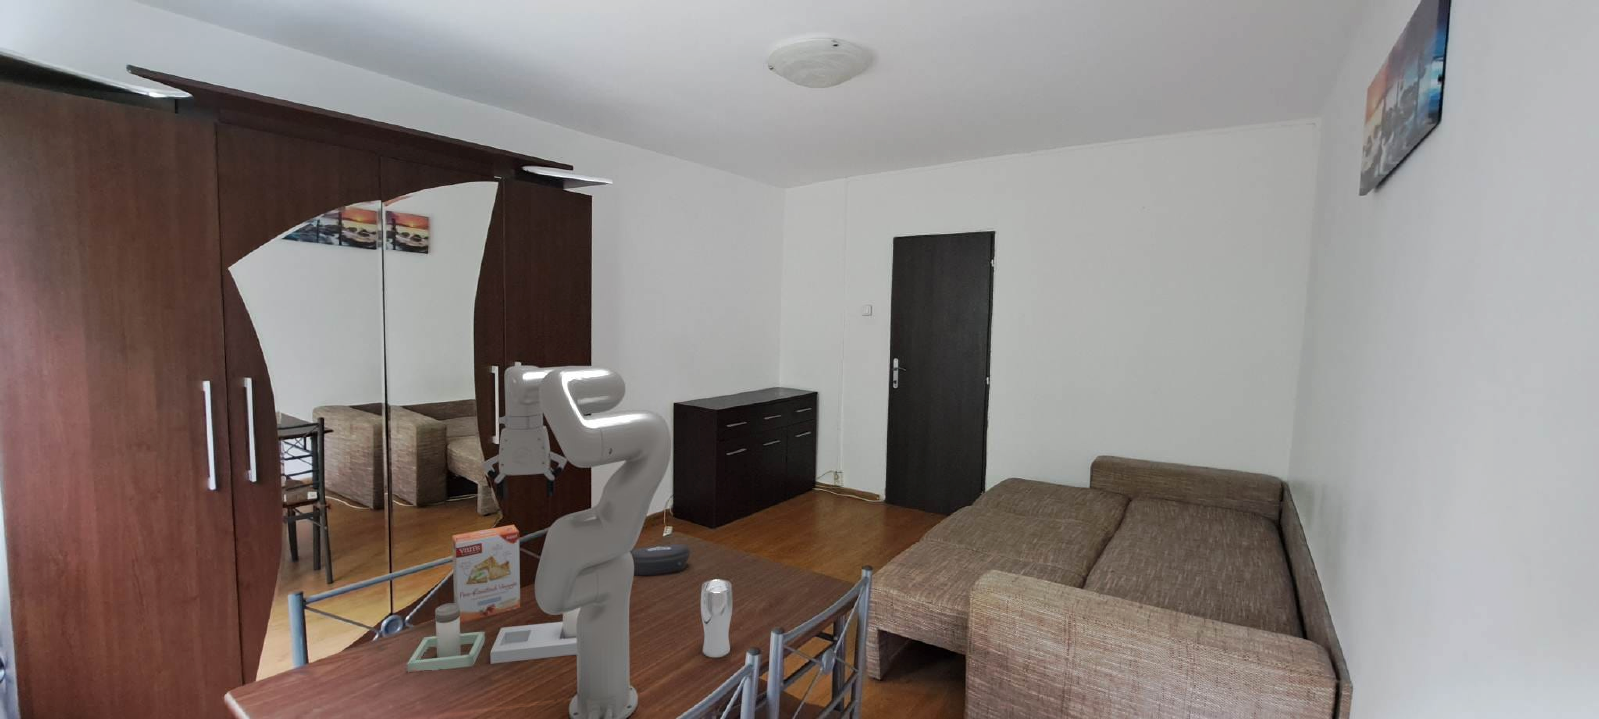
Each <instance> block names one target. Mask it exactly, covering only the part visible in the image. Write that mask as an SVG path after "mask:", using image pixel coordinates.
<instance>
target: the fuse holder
mask: <svg viewBox="0 0 1599 719" xmlns="http://www.w3.org/2000/svg"><path fill="white" fill-rule="evenodd" d="M489 654H490V664H491V665H493V664H500V663H511V662H518V661H527V660H528V661H529V660H536V659H537V660H538V659H546V658H557V657H564V656H565V657H566V656H572V655H573V656H574V655H577V638H568V639H563V621H558V622H546V623H537V624H528V625H527V624H526V625H517V626H507V627H500V630H499V632H498V634H497V636H496V639H495V640H494V643H493V645H492V648H491V650H490V652H489Z"/></svg>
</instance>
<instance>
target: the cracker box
mask: <svg viewBox="0 0 1599 719" xmlns="http://www.w3.org/2000/svg"><path fill="white" fill-rule="evenodd" d="M451 541H452V567H453V568H452V569H453V571H452V573H453V574H452V575H453V603H456V604H459V606H460V624H462V623H463V624H464V623H467V622H472V621H475V620H479V619H482V618H487V617H491V616H494V615H498V614H503V613H506V612H508V611H514V610H516V609H517V610H518V609H520V608H521V583H520V582H521V581H520V580H521V579H520V577H521V576H520V575H521V574H520V572H521V571H520V531H519V530H518V528H517V527H516V526H515V524H508V525H504V526H499V527H493V528H488V529H481V530H475V531H470V532H465V533H459V534H453V535H452V540H451Z"/></svg>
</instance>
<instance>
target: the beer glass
mask: <svg viewBox="0 0 1599 719" xmlns="http://www.w3.org/2000/svg"><path fill="white" fill-rule="evenodd" d="M732 587H733V586H732V583H731V582H730V581H728V580H725V579H719V578H717V579H715V578H714V579H710V580H706V581H705V582H703V584H701V594H700V614H701V620H702V626H703V632H704V638H703V639H704V641H703V646H702V653H703V655H704V656H706V657H709V658H712V659H713V658H715V659H716V658H722V657H725V656H727V654H729V653H730V651H731V645H730V641H729V631H730V625H731V620H732V614H733V613H732V612H733V590H732Z"/></svg>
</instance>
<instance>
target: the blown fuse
mask: <svg viewBox="0 0 1599 719" xmlns="http://www.w3.org/2000/svg"><path fill="white" fill-rule="evenodd" d="M434 614H435V616H434V617H435V618H434V621H435V632H436V633H435V636H436V640H437V647H436V658H441V657H451V656H460V655H462V654H461V653H462V652H461V650H462V649H461V645H460V634H461V623H460V606H459V604H456V603H454V602H448V603H445V604H441V605H440V606H437V607H436V608H435V610H434Z"/></svg>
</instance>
